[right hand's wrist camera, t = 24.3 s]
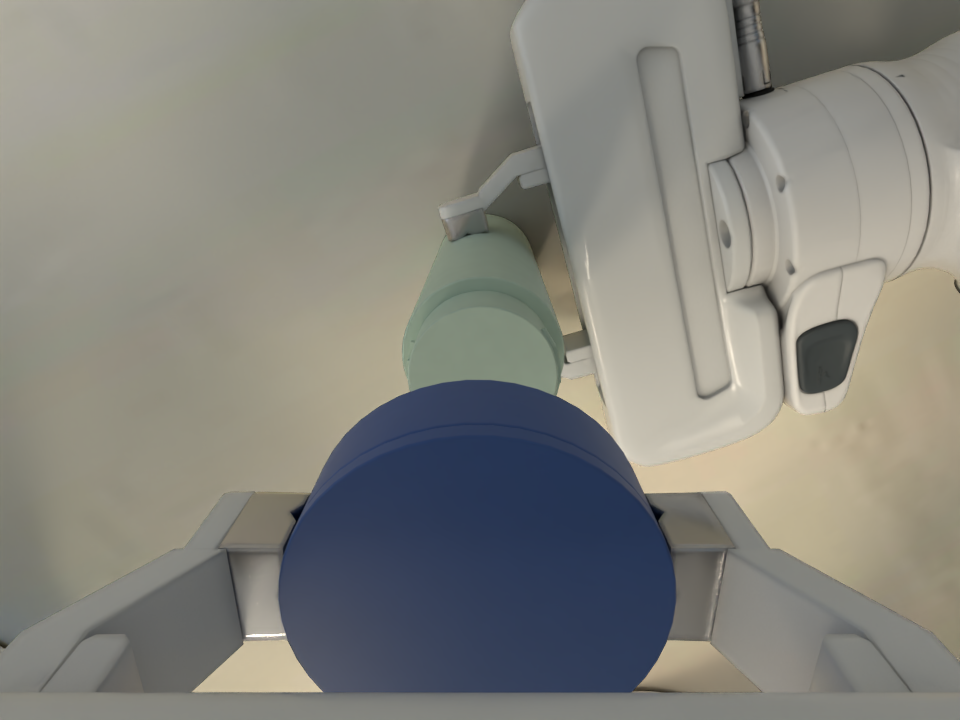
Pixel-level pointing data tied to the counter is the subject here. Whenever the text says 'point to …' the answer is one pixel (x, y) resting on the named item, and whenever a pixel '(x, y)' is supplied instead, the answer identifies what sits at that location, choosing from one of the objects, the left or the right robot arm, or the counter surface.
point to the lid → (477, 552)
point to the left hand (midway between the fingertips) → (466, 293)
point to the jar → (484, 315)
